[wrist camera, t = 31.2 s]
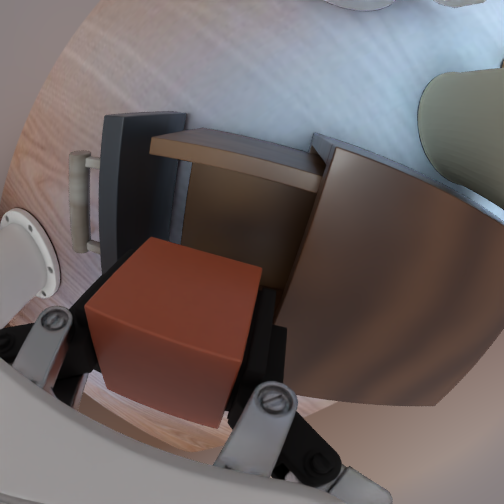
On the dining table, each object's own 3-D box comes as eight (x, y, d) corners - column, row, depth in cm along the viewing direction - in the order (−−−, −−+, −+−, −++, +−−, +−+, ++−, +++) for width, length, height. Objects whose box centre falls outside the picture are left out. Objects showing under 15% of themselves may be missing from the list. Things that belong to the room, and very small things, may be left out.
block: (149, 318, 12) (106, 388, 8) (150, 235, 10) (82, 305, 6) (239, 346, 12) (217, 429, 8) (263, 267, 10) (242, 361, 6)
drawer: (110, 247, 23) (57, 297, 16) (117, 106, 17) (42, 114, 10) (308, 304, 23) (309, 380, 16) (364, 158, 17) (408, 188, 10)
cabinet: (265, 293, 24) (248, 385, 15) (314, 132, 17) (335, 146, 9) (406, 326, 24) (434, 406, 15) (473, 200, 17) (546, 255, 9)
